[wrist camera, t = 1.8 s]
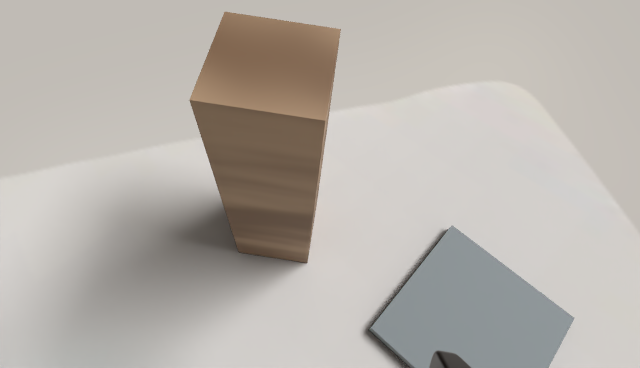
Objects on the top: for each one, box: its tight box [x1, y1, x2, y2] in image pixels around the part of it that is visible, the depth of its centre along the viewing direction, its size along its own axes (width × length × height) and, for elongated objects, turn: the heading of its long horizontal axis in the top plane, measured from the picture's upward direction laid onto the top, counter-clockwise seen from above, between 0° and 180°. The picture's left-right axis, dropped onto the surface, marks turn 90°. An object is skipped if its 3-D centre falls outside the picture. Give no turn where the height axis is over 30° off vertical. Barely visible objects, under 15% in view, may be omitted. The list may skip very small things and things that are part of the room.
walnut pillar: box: [190, 12, 341, 263], centre depth 18 cm, size 4×4×13 cm
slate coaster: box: [369, 226, 574, 368], centre depth 21 cm, size 8×8×1 cm
